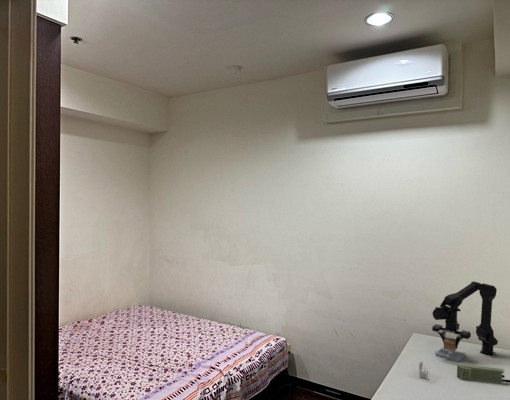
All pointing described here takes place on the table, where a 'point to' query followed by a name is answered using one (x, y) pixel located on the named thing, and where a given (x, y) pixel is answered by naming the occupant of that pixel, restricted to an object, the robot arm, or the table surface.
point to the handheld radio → (480, 373)
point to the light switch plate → (450, 355)
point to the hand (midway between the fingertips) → (450, 346)
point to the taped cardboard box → (450, 344)
